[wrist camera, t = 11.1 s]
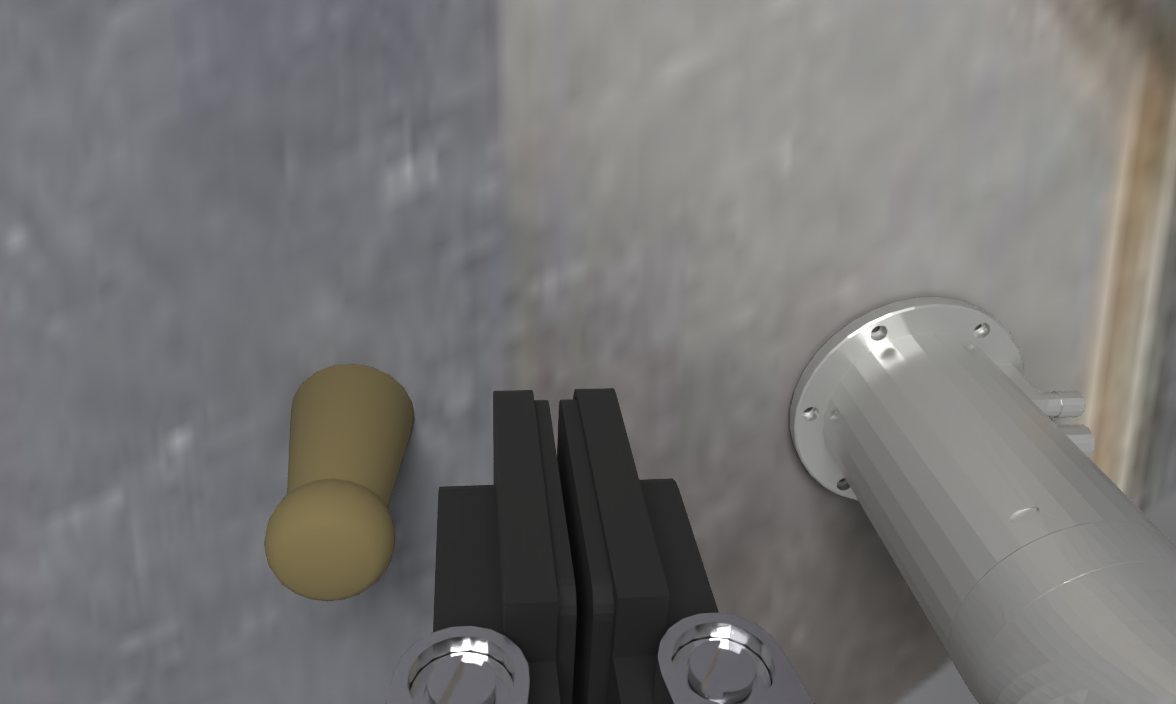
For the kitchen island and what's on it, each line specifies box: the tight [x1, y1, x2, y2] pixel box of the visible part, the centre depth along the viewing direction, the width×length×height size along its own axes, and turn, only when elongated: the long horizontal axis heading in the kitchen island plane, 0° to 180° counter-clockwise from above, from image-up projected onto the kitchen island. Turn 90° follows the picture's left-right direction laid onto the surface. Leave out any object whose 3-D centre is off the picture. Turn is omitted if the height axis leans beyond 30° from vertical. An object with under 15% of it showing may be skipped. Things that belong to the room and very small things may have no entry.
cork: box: [264, 364, 414, 601], centre depth 41 cm, size 6×6×11 cm
